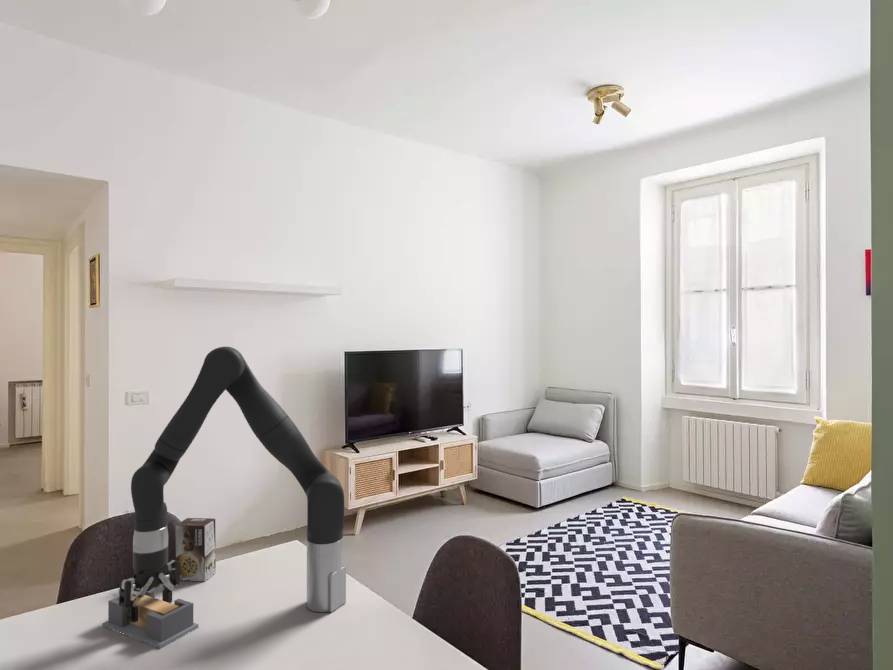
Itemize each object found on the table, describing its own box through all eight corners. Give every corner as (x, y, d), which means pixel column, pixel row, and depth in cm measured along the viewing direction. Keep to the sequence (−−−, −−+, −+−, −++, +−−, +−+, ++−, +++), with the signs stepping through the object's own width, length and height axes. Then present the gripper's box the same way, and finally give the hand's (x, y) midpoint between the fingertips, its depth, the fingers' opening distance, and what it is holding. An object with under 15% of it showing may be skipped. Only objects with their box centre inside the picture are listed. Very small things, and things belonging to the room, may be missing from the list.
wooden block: (178, 627, 131) (179, 606, 131) (163, 635, 127) (163, 613, 127) (138, 612, 137) (138, 592, 137) (122, 620, 134) (123, 599, 134)
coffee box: (216, 572, 163) (216, 518, 163) (204, 582, 156) (205, 525, 156) (187, 571, 164) (187, 517, 164) (174, 580, 157) (174, 524, 157)
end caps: (198, 627, 132) (198, 602, 132) (160, 648, 123) (160, 621, 123) (142, 608, 141) (142, 584, 141) (103, 626, 133) (103, 601, 133)
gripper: (132, 559, 124) (132, 631, 124) (187, 538, 137) (187, 603, 137) (111, 553, 128) (111, 623, 128) (167, 533, 140) (167, 597, 140)
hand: (150, 613), depth 132 cm, fingers open, 8 cm apart
